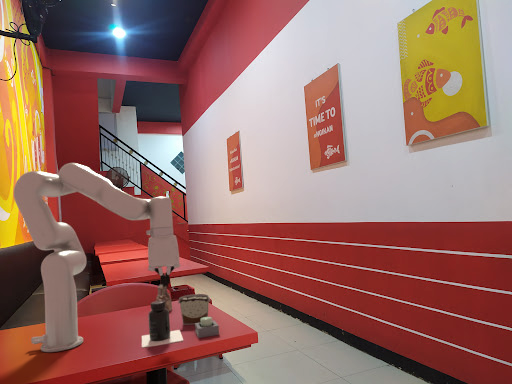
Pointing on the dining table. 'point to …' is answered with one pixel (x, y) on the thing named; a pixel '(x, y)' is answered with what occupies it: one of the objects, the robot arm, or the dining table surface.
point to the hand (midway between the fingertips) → (165, 286)
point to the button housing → (207, 330)
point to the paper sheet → (174, 337)
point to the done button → (206, 321)
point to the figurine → (164, 297)
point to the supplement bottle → (159, 321)
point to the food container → (194, 308)
